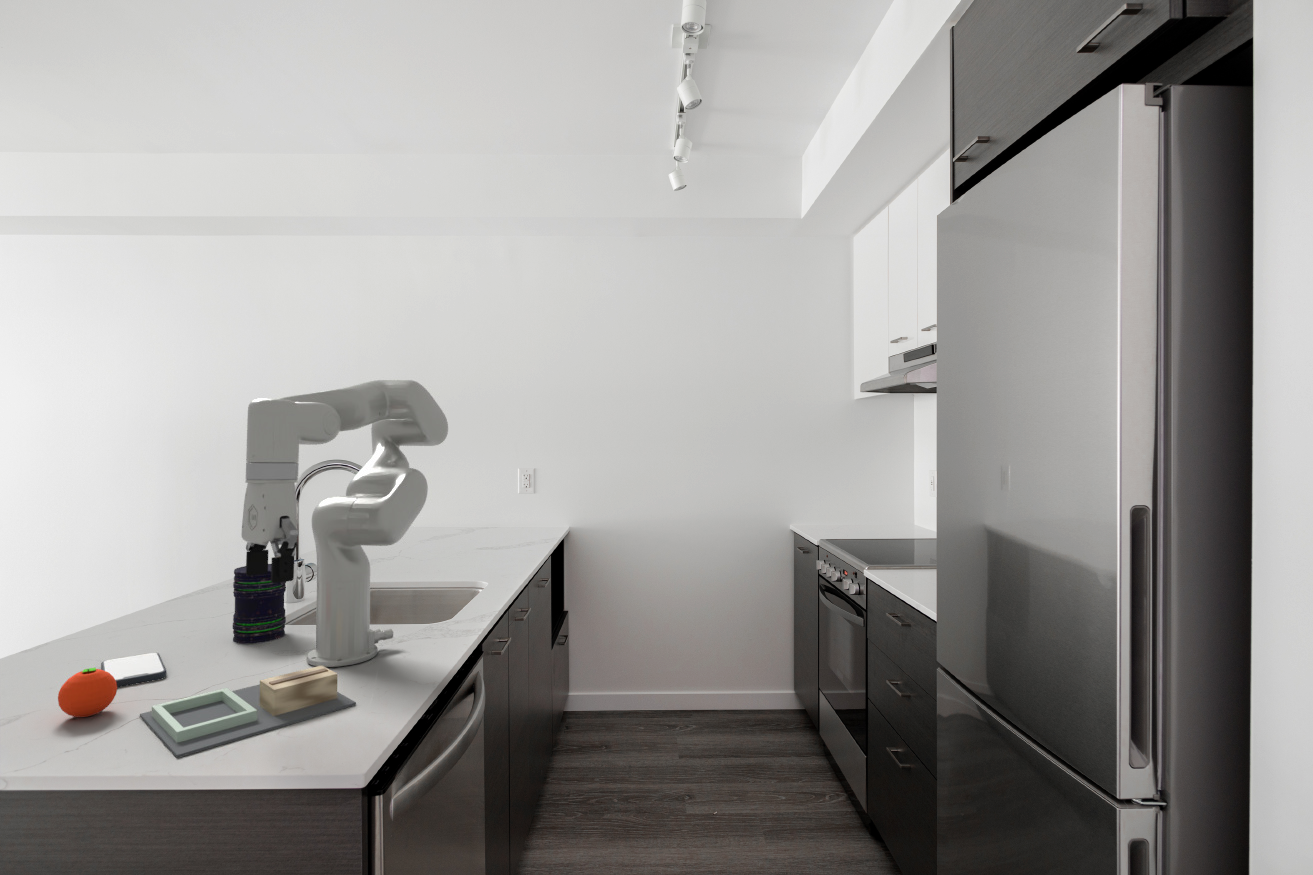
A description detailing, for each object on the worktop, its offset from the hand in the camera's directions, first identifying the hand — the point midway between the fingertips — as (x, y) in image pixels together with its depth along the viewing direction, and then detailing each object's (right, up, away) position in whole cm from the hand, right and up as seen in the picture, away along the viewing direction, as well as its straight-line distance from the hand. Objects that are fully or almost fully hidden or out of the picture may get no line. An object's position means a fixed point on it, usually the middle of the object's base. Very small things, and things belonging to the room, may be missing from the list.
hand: (269, 577), depth 108 cm
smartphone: (-32, -20, +12) cm, 40 cm away
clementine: (-24, -20, -6) cm, 32 cm away
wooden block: (+6, -20, -2) cm, 21 cm away
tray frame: (-5, -20, -8) cm, 22 cm away
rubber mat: (0, -20, -5) cm, 20 cm away
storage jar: (-22, -20, +34) cm, 45 cm away
